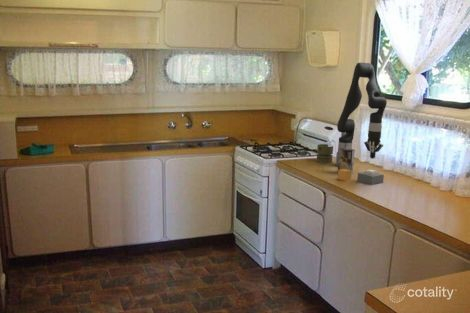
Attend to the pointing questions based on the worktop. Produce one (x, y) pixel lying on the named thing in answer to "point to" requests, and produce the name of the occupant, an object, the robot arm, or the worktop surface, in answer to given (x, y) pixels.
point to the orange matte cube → (344, 174)
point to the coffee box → (346, 159)
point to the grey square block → (370, 178)
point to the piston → (324, 153)
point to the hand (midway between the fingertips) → (372, 158)
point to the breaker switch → (371, 172)
